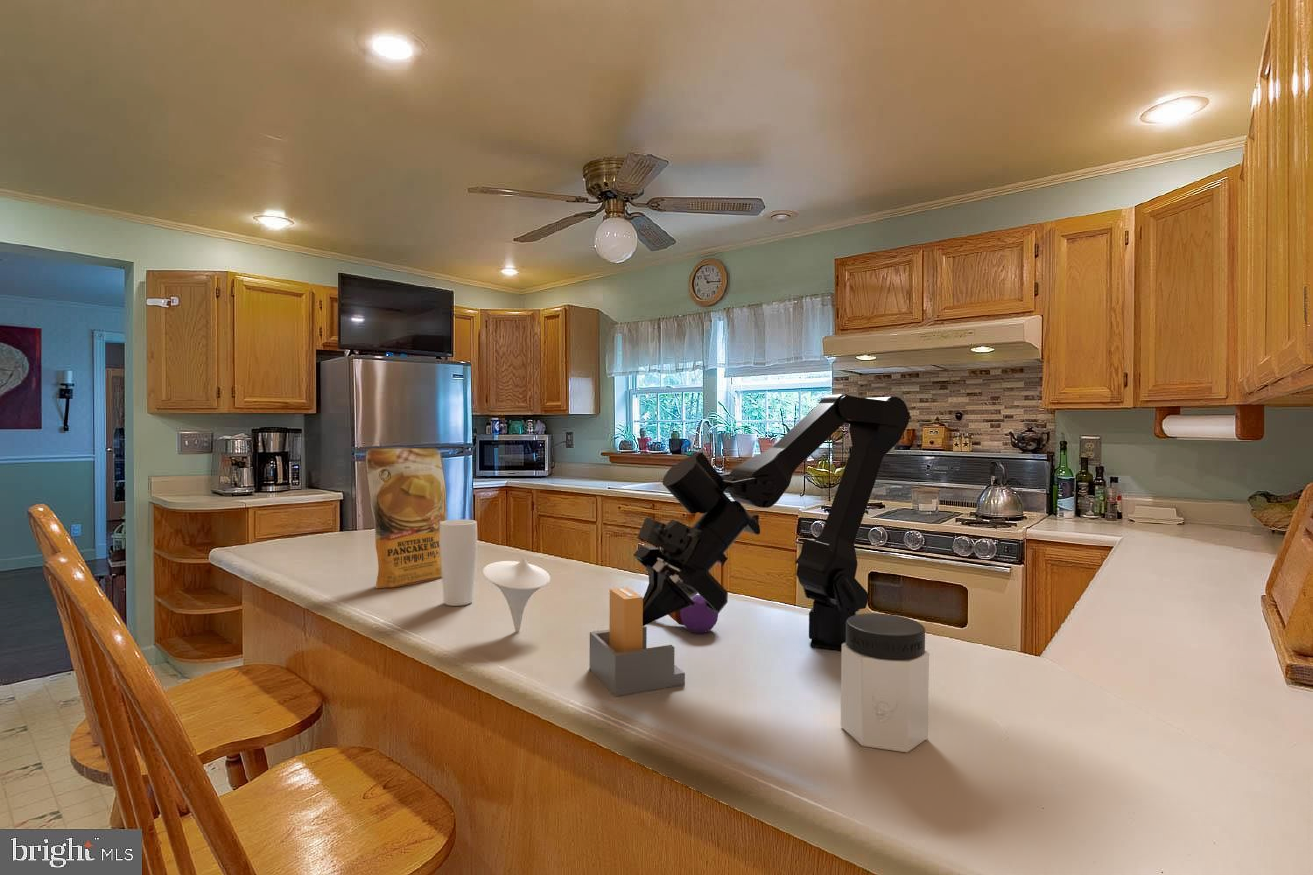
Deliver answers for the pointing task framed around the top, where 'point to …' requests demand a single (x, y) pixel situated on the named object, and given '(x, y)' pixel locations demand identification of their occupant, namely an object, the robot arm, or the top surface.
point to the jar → (885, 682)
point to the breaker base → (633, 666)
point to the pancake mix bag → (406, 513)
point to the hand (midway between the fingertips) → (636, 624)
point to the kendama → (696, 616)
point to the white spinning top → (516, 583)
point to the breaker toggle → (625, 620)
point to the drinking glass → (458, 560)
